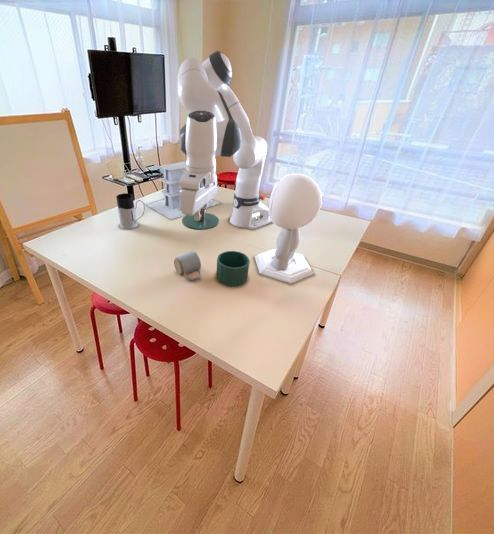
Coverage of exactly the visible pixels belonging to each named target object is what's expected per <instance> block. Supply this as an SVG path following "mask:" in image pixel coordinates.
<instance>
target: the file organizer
mask: <svg viewBox="0 0 494 534" xmlns="http://www.w3.org/2000/svg"><path fill="white" fill-rule="evenodd" d="M158 168H161V169H163V177H161V178H159V182H163V183H164V189H163V190H162V189H161V190H160V194H162V195H164V199H161V200H158V201H154V202H151V203H146V206H147V207H150V208H151V209H152V210H155V211H156V212H158V213H159V214H162V216H164V217H166V218H168V219H170V220H175V219H177V218H180V217H184V216H186V215H185V214H183V213H182V212H181V207H180V190H181V188H182V187H179V179H180V178H181V176H182V175H183V173H184V171H185V170H182V169H186V161H180V162H173V163H168V164H163V165H158ZM219 204H220V202H219V201H217V200H215V199H213V198H212V199H211V200H210V201H209V202H208V206H207V208H210V207H213V206H216V205H219Z"/></svg>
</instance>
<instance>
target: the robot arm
mask: <svg viewBox="0 0 494 534" xmlns="http://www.w3.org/2000/svg"><path fill="white" fill-rule="evenodd" d="M208 56H209V57H207V58H206V59H205V60H204V61H202V62H201V60H199V59H197V58H195V57H188V58H186V59H184V60H183V61H182V62H181V64H180V66H179V68H178V72H177V78H176V89H177V97H178V101H179V102H180V104H181V105H182V107H183V108H184V109H185V110H187V111H189V113H188V114H187V116H186V123H185V124H184V125H183V126H182V127H181V129H180V130H179V135H180V149H179V150H180V151H181V152H182V153H183V154H184V155H185V156H186V160H185V162H186V168H184V170H183V171H184V173H183V175H182V176H181V178H180V179H179V187H182V188H181V190H180V207H181V212H182V213H183V214H185V215H184V216H186V215H190V216H193V215H194V217H195V220H196V221H199V220H200V219H201V214H200V209H204V210H205V215H206V213H207V209H208V207H207V206H208V202H209V201H210V200H211V199H212V200H213V198H214V197H216V196H217V193H218V176H217V161H216V157H223V158H224V157H225V158H231V157H233V158H232V159H233V163H234V164H235V166H236V167H237V168H238V171H237V173H236V178H235V190H234V194H233V205H232V206H233V207H232V211H231V215H230V218H229V223H230V225H233V226H235V227H238V228H243V229H244V228H245V229H249V230H256V229H258V228H261V227H264V226H266V225H269V224H272V223H273V222H272V220H271V217H270V216H269V214H268V207H269V206H267V205H266V204H264V203H263V202H262V201H265V199H266V197H265V196H264V195H263V194H260V193H259V192H260V186H261V178H262V175H263V170H264V165H265V161H266V156H267V151H268V144H267V141H266V140H265V138H264V137H261V136H259V135H254V133H253V130H252V128H251V127H252V126H251V124H250V119H249V117H248V115H247V113H246V112H245V110H244V108H243V106H242V104H241V102H240V100H239V98H238V97H237V96H236V94H235V92H234V91H233V90H232V88H231V87H230V86H231V80H232V78H233V68H232V63H231V62H230V61H231V60H230V59H229V58H228V56H227V55H226V54H224V53H223V52H222V51H219V50H216V51H214V52H213V53H211V54H209V55H208Z"/></svg>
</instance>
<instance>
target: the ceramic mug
mask: <svg viewBox="0 0 494 534" xmlns="http://www.w3.org/2000/svg"><path fill="white" fill-rule="evenodd" d="M173 266H174V269H175V271H176V273H177V274H178V275H180V276H184V277H185V278H186V279H187V280H188V281H191V282H195V281H197V280H198V279H199V278H200V277H201V268H202V262H201V259H200V256H199V254H198V253H197V252H196V250H190V251H187V252H185V253H183V254H180V255H178V256H176V257H175V258H174V259H173ZM194 272H198V275H197V276H196V277H190V276H188V275H189V274H191V273H194Z"/></svg>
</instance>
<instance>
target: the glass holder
mask: <svg viewBox="0 0 494 534" xmlns="http://www.w3.org/2000/svg"><path fill="white" fill-rule="evenodd" d="M138 202H141V203H142V205H143V212H142V214H141V215H140V216H139V217H138V218H137V214H136V209H137V208H138ZM116 205H117V211H118V212H117V213H118V218H119V222H120V225H119V227H120V229H122V230H132V229H135V228H137V227H138V226H139V224H138V220H140V219H141V218H142V217H143V216H144V214H145V211H146V204H145V202H144V201H143V200H141V199H138V200H136V202H135V201H134V195H133V194H132V193H126V192H124V193H120V194H117V195H116Z"/></svg>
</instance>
